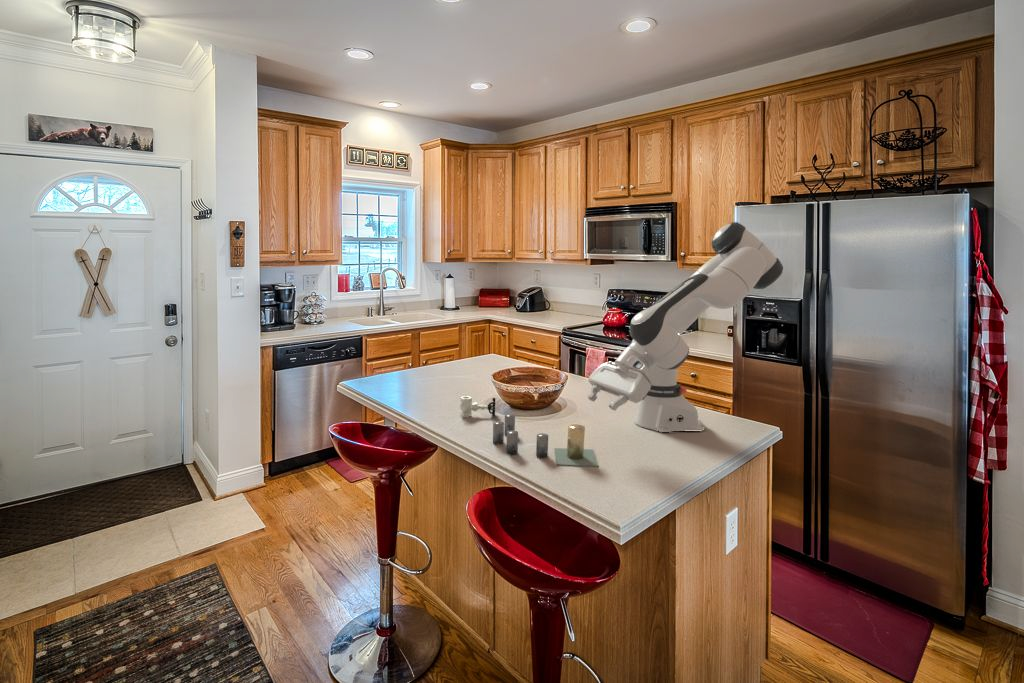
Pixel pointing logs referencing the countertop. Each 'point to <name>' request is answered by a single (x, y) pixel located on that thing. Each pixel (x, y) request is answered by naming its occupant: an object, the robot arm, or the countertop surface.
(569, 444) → the gold metal cylinder
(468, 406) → the valve
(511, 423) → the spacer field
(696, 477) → the countertop surface
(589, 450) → the mat
